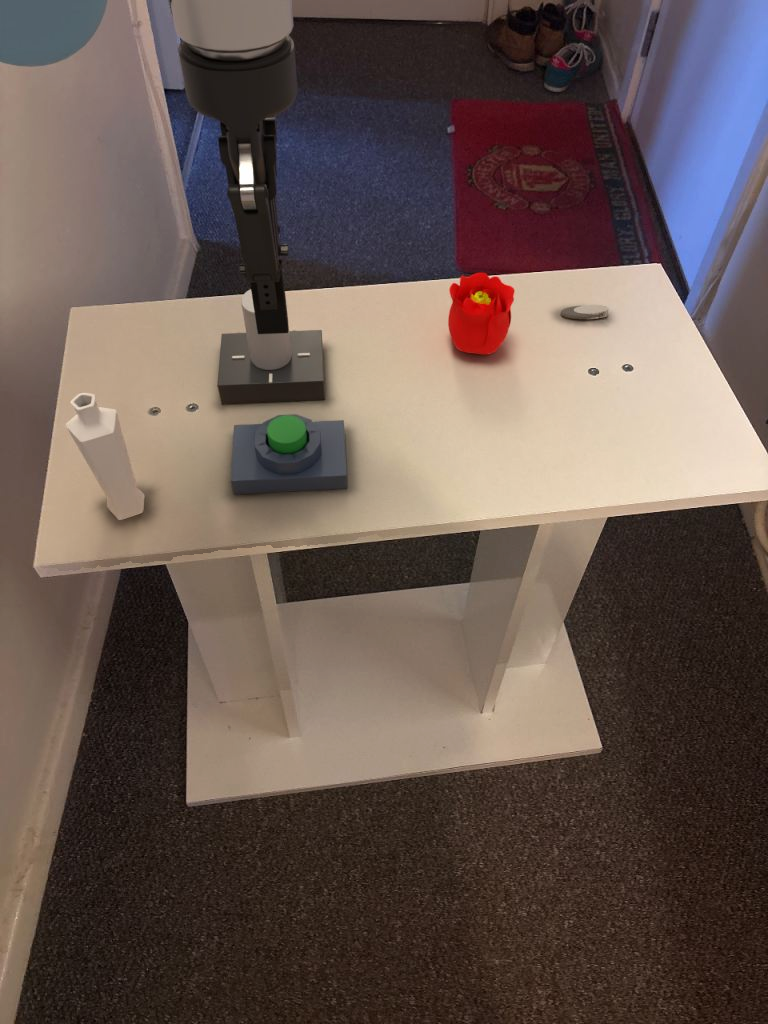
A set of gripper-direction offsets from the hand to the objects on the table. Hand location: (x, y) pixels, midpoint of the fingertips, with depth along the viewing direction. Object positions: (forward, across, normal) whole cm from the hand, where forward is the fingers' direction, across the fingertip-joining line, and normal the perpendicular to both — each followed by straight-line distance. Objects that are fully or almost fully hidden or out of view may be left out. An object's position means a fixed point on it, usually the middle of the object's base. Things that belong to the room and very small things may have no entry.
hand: (273, 328), depth 67 cm
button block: (+18, 0, 0) cm, 18 cm away
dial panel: (+18, -14, -2) cm, 23 cm away
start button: (+15, 0, 0) cm, 15 cm away
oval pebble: (+19, -23, +38) cm, 48 cm away
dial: (+15, -14, -2) cm, 21 cm away
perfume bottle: (+19, +4, -17) cm, 26 cm away
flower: (+19, -18, +23) cm, 35 cm away
